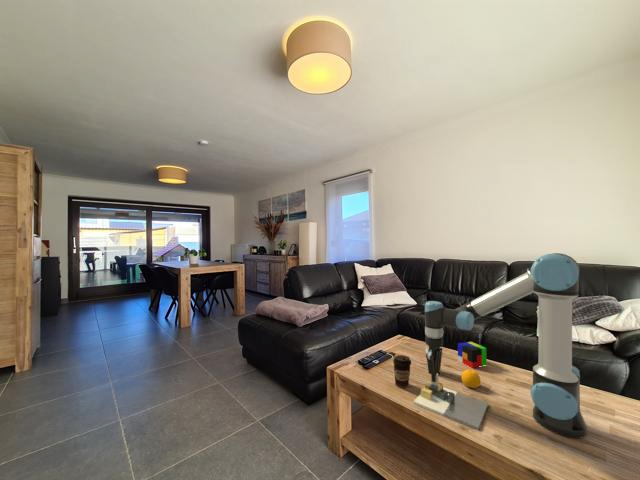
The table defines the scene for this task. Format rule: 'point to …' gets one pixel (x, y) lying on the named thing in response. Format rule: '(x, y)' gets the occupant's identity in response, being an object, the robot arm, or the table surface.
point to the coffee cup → (402, 370)
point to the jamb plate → (467, 410)
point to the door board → (432, 401)
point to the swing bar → (437, 390)
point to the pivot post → (450, 397)
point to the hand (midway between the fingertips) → (434, 387)
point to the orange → (471, 378)
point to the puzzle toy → (472, 354)
